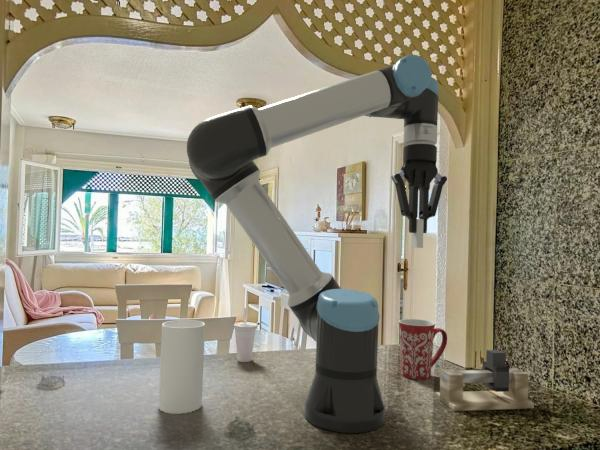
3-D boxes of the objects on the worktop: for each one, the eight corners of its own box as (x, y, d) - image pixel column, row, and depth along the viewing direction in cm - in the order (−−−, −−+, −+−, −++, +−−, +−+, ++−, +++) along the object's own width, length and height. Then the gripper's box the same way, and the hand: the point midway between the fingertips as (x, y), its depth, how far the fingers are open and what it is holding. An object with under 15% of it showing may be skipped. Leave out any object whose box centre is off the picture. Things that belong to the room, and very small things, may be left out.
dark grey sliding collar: (495, 391, 93) (496, 354, 94) (482, 384, 98) (483, 348, 99) (508, 391, 94) (509, 354, 94) (494, 383, 99) (495, 348, 99)
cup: (198, 396, 93) (201, 319, 94) (204, 411, 86) (208, 326, 86) (157, 400, 90) (160, 320, 91) (159, 416, 83) (163, 328, 83)
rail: (453, 410, 90) (454, 377, 90) (435, 396, 98) (436, 365, 98) (534, 408, 93) (534, 375, 93) (509, 394, 101) (510, 364, 101)
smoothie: (247, 355, 126) (249, 305, 127) (260, 361, 121) (262, 309, 122) (228, 359, 122) (229, 307, 123) (240, 364, 117) (242, 311, 118)
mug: (404, 381, 108) (406, 325, 109) (392, 370, 117) (393, 318, 118) (454, 381, 110) (455, 325, 110) (438, 370, 119) (439, 318, 119)
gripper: (399, 140, 99) (396, 247, 98) (454, 144, 101) (451, 248, 101) (387, 147, 107) (384, 246, 106) (438, 150, 109) (436, 248, 108)
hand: (417, 247), depth 103 cm, fingers closed
